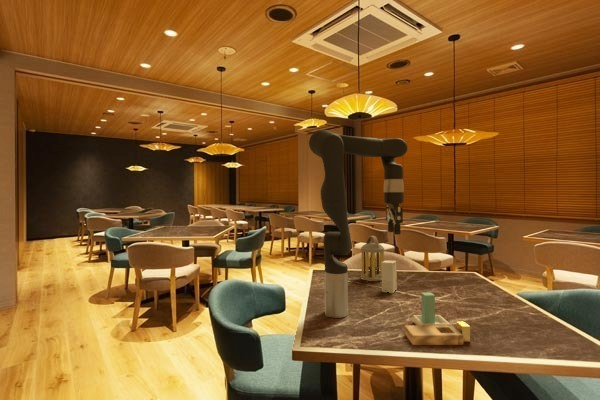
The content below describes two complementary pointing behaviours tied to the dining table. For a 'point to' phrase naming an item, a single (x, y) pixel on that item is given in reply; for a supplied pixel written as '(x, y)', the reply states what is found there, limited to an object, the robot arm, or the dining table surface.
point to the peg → (428, 308)
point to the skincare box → (389, 276)
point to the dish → (438, 321)
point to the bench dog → (464, 330)
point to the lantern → (372, 259)
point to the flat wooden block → (433, 335)
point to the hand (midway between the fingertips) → (393, 233)
